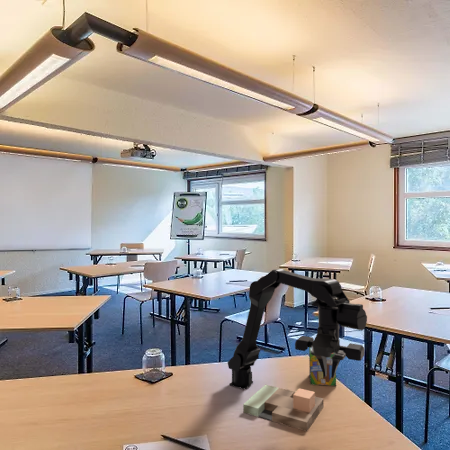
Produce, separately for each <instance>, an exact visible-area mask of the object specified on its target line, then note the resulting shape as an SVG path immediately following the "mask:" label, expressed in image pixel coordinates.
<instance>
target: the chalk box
mask: <svg viewBox="0 0 450 450" xmlns="http://www.w3.org/2000/svg"><path fill="white" fill-rule="evenodd" d="M311 353H312V348H310V347H308V356H309V357H308V359H309V364H308V365H309V368H308V369H309V372H308V373H309V375H308V376H309V384H310V385H314V386H315V385H316V386H317V385H319V386H332V387H337V372H336V373H335V376H334V378H332V375H331V373H332V357H333V355H334V354H335V353H332V354H331V357H326V358H327V375H326V377H324V375H323V372H322V369H321V366H320V363H319V361H318V359H317V358H316V357H315V356H314V355H312V354H311Z"/></svg>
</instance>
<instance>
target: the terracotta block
mask: <svg viewBox="0 0 450 450" xmlns="http://www.w3.org/2000/svg"><path fill="white" fill-rule="evenodd" d="M294 392H295V393H294V395H293V408H294V409H298V410H302V411H306V412H309V413H310V412H311V410H312V409H313V407H314V406H315V397H316V392H315V391H312V390H308V389H303V388H298V389H297V390H296V391H294Z"/></svg>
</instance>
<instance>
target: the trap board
mask: <svg viewBox="0 0 450 450" xmlns="http://www.w3.org/2000/svg"><path fill="white" fill-rule="evenodd" d="M295 392H296V391H295V390H294V391H293V390H290V389H286V388H281V387H277V386H273V385H269V384H264V385H263V386H262V387H261V388H260V389H258V390H257V392H255V393H254V394H253V395H252V396H251V397H249V399H247V400H246V401H245V402H244V403H243V406H242V407H243V409H242V410H243V411H242V412H243V413H244V414H248V415H250V416H255V417H256V418H257V417H258V418H261V419H264V420H267V421H271V422H274V423H277V424H280V425H281V424H282V425H284V426H288V427H290V428H294V429H298V430H301V431H303V432H308V431H309V429H310V427H311V426H312V424H313V423H314V422H315V420H316V419H317V417H319V416H318V415H319V414H320V412H321V411H322V409H323V408H324V404H325V403H324V398H322V397H318V396H315V406H314V407H313V409H312V410H311V412H310V413H309V412H306V411H302V410H298V409H294V408H293V395H294V393H295Z"/></svg>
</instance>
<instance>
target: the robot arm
mask: <svg viewBox="0 0 450 450" xmlns="http://www.w3.org/2000/svg"><path fill="white" fill-rule="evenodd" d="M281 284H282V285H285V286H288V287H292V288H295V289H299V290H302V291H305V292H307V293H309V295H311V296H312V297H313V298H316V299H315V300H314V301H313V302H312V303H311V307H315V308H318V309H317V312H318V327H317V330H316V336H315V338H313V337H312V336H306V335H301V336H299V337H298V338H297V339H296V340H295V342H294V349H295V350H296V351H302V352H305V351H306V350H309V347H310V348H312V353H311V354H312V355H314V356H315V357H316V358H317V359H318V361H319V363H320V366H321V369H322V372H323V375H324V377H326V375H327V358H326V357H331V354H332V353H335V354H334V355H333V357H332V373H331V375H332V378H334V376H335V373H336V374H337V370H338V367H339V364H340V362H341V361H344V359H345V358H347V360H352V361H362V359H363V358H364V356H365V347H364V346H363V345H362V344H357V343H350V342H349V344H348V345H347V346H346V345H345V346H344V345H341V343H340V341H341V340H340V329H341V328H340V326H341V327H342V328H343V327H344V328H348V329H353V330H358V331H363V330H364V329H365V328H366V326H367V323H368V322H367V321H368V315H367V313H366V310H365V309H364V305H363V304H360V303H351V301H350V299H349V298H348V297H347V295H346V294H345V292H344V290H343V289H342V288H343V287H342V285H341V283H340V282H339V281H338V280H337V279H334V278H318V277H317V278H315V277H310V276H306V275H303V274H298V273H295V272H291V271H288V270H285V269H283V268H278V269H272V270H271V271H270V272H269V273H267V274H266V275H263V277H260V278H258V279H257V280H255V281H253V282H251V283H250V284H249V292H248V298H249V300H250V308H249V311H248V316H247V319H246V323H245V327H244V330H243V331H244V332H243V336H242V339H241V340H240V342H239V343H238V345H237V346H236V347H235V349H234V352H233V356H232V357H231V358H230V359H229V360H228V361H227V367H228V369H230V370H231V382H230V383H229V386H231V387H236V388H240V389H243V390H246V389H248V387H250V386H251V385H252V384H254V381H253V372H252V367H253V366H254V365H255V363H256V361H257V360H258V359H260V352H261V348H259V347H258V345H257V341H258V336H259V333H260V328H261V325H262V320H263V317H264V312H265V309H266V306H267V305H268V304H269V303H270V301H271V300H272V298H273V295H274V293H275V290H276V289H277V288H279V287H280V286H281Z"/></svg>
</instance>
